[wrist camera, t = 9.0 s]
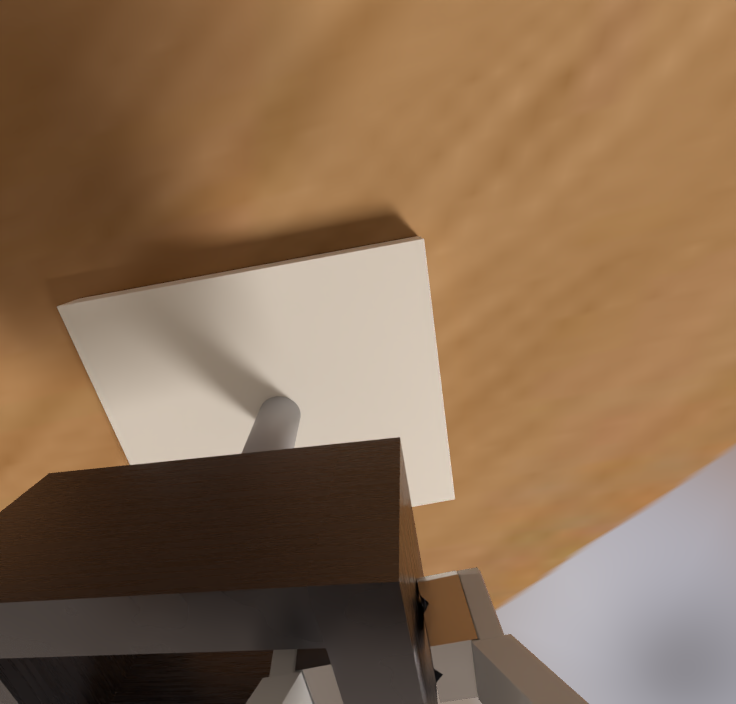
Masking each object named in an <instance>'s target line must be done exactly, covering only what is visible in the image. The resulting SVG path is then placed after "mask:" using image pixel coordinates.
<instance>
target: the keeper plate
mask: <svg viewBox="0 0 736 704" xmlns="http://www.w3.org/2000/svg"><path fill="white" fill-rule="evenodd" d="M57 309H58V311H59V313H60V315H61V317H62V319H63V321H64V324H65V326H66V328H67V330H68V332H69V334H70V337H71V339H72V341H73V343H74V345H75V347H76V349H77V352H78V354H79V356H80V358H81V360H82V362H83V365H84V367H85V369H86V371H87V373H88V375H89V377H90V380H91V382H92V384H93V386H94V388H95V390H96V393H97V395H98V397H99V399H100V401H101V403H102V405H103V408H104V410H105V412H106V414H107V416H108V418H109V421H110V423H111V425H112V427H113V429H114V431H115V433H116V436H117V438H118V440H119V442H120V444H121V446H122V448H123V451H124V453H125V455H126V457H127V459H128V461H129V464H130V465H135V464H145V463H155V462H164V461H174V460H184V459H193V458H203V457H213V456H222V455H232V454H242V453H252V452H261V451H271V450H281V449H290V448H300V447H310V446H319V445H329V444H339V443H348V442H358V441H368V440H377V439H387V438H397V437H400V440H401V446H402V451H403V457H404V463H405V469H406V475H407V481H408V487H409V493H410V499H411V505H412V507H414V506H419V505H425V504H431V503H436V502H442V501H448V500H453V499H455V495H454V487H453V479H452V470H451V462H450V453H449V445H448V437H447V428H446V420H445V411H444V403H443V395H442V386H441V378H440V369H439V361H438V353H437V344H436V336H435V328H434V319H433V311H432V302H431V294H430V286H429V277H428V269H427V260H426V252H425V244H424V239H423V238H421V237H419V236H416V237H410V238H405V239H399V240H394V241H389V242H383V243H378V244H372V245H367V246H361V247H356V248H351V249H345V250H340V251H334V252H329V253H323V254H318V255H313V256H307V257H302V258H296V259H291V260H286V261H280V262H275V263H269V264H264V265H258V266H253V267H248V268H242V269H237V270H231V271H226V272H220V273H215V274H210V275H204V276H199V277H193V278H188V279H183V280H177V281H172V282H166V283H161V284H155V285H150V286H145V287H139V288H134V289H128V290H123V291H117V292H112V293H107V294H101V295H96V296H90V297H85V298H80V299H76V300H73V301H71V302H68V303H65V304H62V305H59V306H57Z"/></svg>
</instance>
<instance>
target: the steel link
mask: <svg viewBox="0 0 736 704" xmlns="http://www.w3.org/2000/svg"><path fill="white" fill-rule="evenodd" d="M421 577H424V576H423V570H422V564H421V558H420V552H419V546H418V540H417V534H416V528H415V522H414V516H413V511H412V505H411V499H410V493H409V487H408V481H407V475H406V469H405V463H404V457H403V451H402V446H401V440H400V437H397V438H387V439H377V440H368V441H358V442H348V443H339V444H329V445H319V446H310V447H300V448H290V449H281V450H271V451H261V452H252V453H242V454H232V455H222V456H213V457H203V458H193V459H184V460H174V461H164V462H155V463H145V464H135V465H126V466H116V467H106V468H97V469H87V470H77V471H67V472H58V473H49V474H48V475H46V476H45V477H44V478H43V479H41V480H40V481H39V482H38V483H36V484H35V485H34V486H33V487H31V488H30V489H29V490H28V491H26V492H25V493H24V494H22V495H21V496H20V497H19V498H17V499H16V500H15V501H14V502H12V503H11V504H10V505H9V506H7V507H6V508H5V509H3V510H2V511H1V512H0V704H246V702H247V701H248V699H249V698H250V696H251V695H252V693H253V692H254V690H255V689H256V687H257V686H258V684H259V683H260V681H261V680H262V678H266V677H269V675H270V669H271V662H272V656H273V650H284V649H315V648H326V650H327V653H328V656H329V659H330V663H331V666H332V669H333V672H334V675H335V679H336V682H337V685H338V688H339V691H340V694H341V698H342V701H343V704H438V702H437V686H436V679H435V674H434V669H433V664H432V659H431V653H430V648H429V643H428V638H427V633H426V628H425V622H424V617H423V611H422V605H421V600H420V595H419V589H418V583H417V578H421Z"/></svg>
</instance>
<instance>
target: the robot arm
mask: <svg viewBox="0 0 736 704" xmlns="http://www.w3.org/2000/svg"><path fill="white" fill-rule="evenodd" d="M417 583H418V589H419V595H420V600H421V605H422V611H423V617H424V622H425V628H426V633H427V638H428V643H429V648H430V653H431V659H432V664H433V669H434V674H435V679H436V684H437V689H438V694H439V699H440V702H447V701H454V700H460V699H468V698H475V697H479V700H480V701H481V703H482V704H588V703H587V702H586V701H585V700H584V699H583V698H582V697H581V696H580V695H578V694H577V693H576V692H575V691H574V690H573V689H572V688H571V687H569V686H568V685H567V684H566V683H565V682H564V681H563V680H562V679H560V678H559V677H558V676H557V675H556V674H555V673H554V672H553V671H551V670H550V669H549V668H548V667H547V666H546V665H545V664H544V663H542V662H541V661H540V660H539V659H538V658H537V657H536V656H535V655H534V654H532V653H531V652H530V651H529V650H528V649H527V648H526V647H524V646H523V645H522V644H521V643H520V642H519V641H518V640H517V639H515V638H514V637H513V636H512V635H511V634H509V635H504V633H503V631H502V628H501V625H500V623H499V620H498V618H497V615H496V612H495V609H494V607H493V604H492V601H491V599H490V596H489V593H488V591H487V588H486V585H485V583H484V580H483V577H482V575H481V572H480V570H479V569H478V568H477V567H476V568H471V569H465V570H460V571H457V572H456V571H452V572H446V573H441V574H436V575H431V576H426V577H421V578H417ZM246 704H343V701H342V698H341V694H340V691H339V688H338V685H337V682H336V679H335V675H334V672H333V669H332V666H331V663H330V659H329V656H328V653H327V650H326V648H315V649H284V650H273V656H272V662H271V669H270V675H269V677H266V678H262V680H261V681H260V683H259V684H258V686H257V687H256V689H255V690H254V692H253V693H252V695H251V696H250V698H249V699H248V701H247V702H246Z"/></svg>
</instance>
